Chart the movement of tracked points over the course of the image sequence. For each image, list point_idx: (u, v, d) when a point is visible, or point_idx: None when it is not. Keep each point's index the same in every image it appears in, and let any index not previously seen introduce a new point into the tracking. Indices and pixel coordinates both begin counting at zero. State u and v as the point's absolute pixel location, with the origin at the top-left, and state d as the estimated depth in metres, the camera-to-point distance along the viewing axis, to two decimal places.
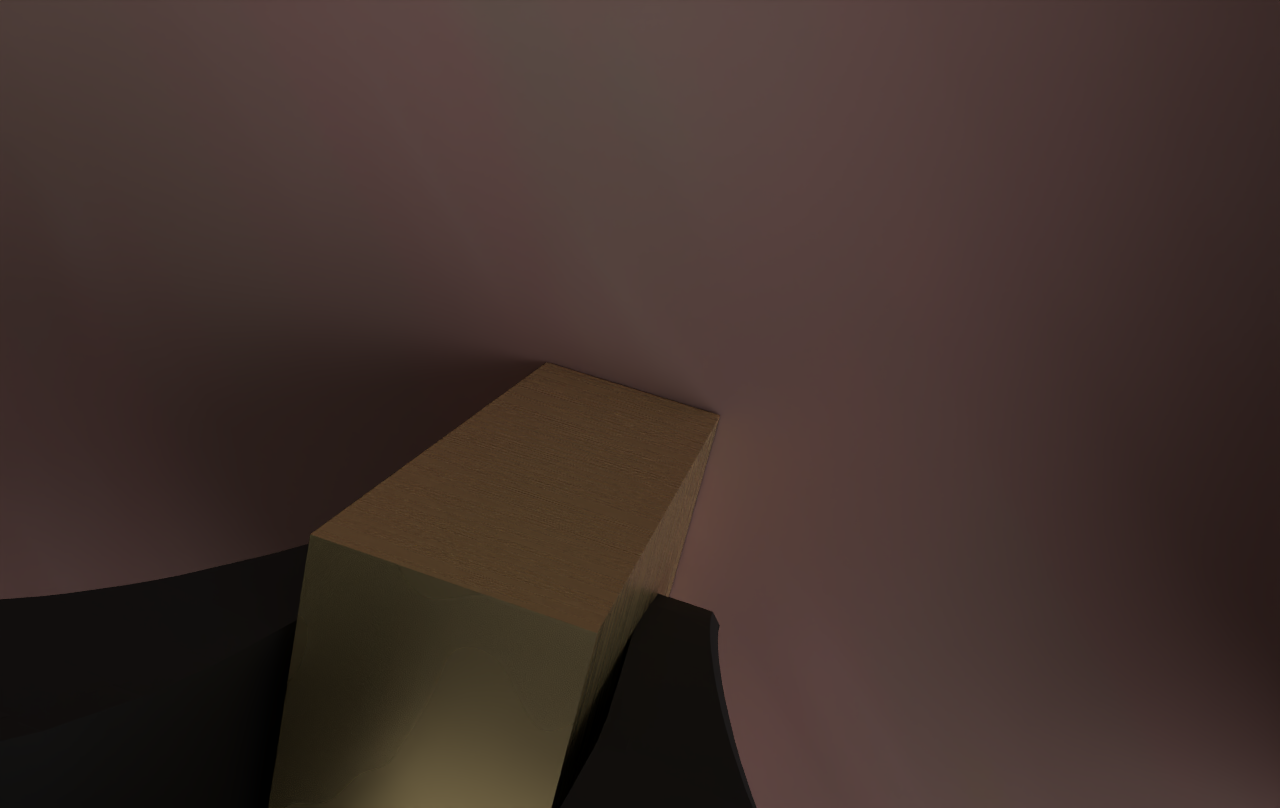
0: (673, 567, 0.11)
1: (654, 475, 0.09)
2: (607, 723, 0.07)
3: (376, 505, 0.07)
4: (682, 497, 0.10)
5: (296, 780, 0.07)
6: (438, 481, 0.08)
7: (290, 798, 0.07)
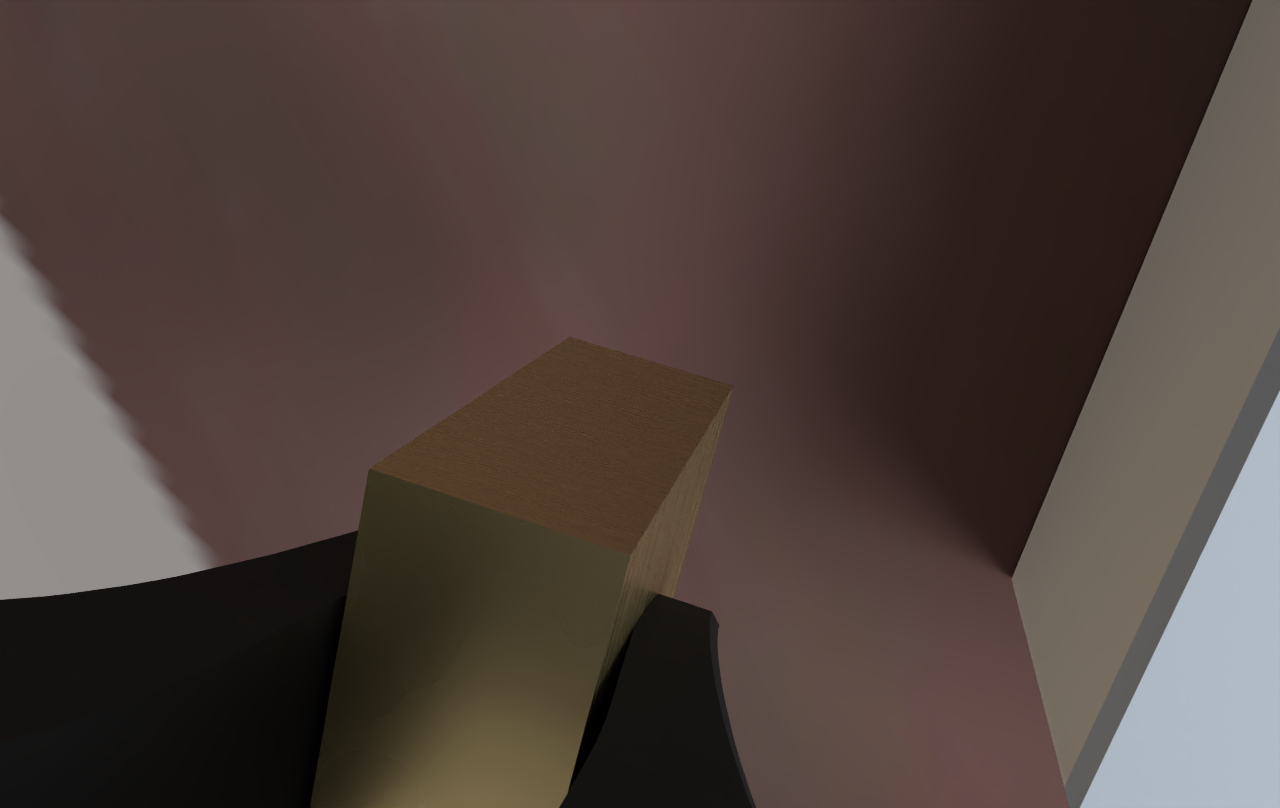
0: (689, 529, 0.12)
1: (674, 432, 0.10)
2: (607, 722, 0.07)
3: (425, 447, 0.08)
4: (700, 456, 0.10)
5: (352, 700, 0.08)
6: (479, 430, 0.09)
7: (345, 717, 0.08)
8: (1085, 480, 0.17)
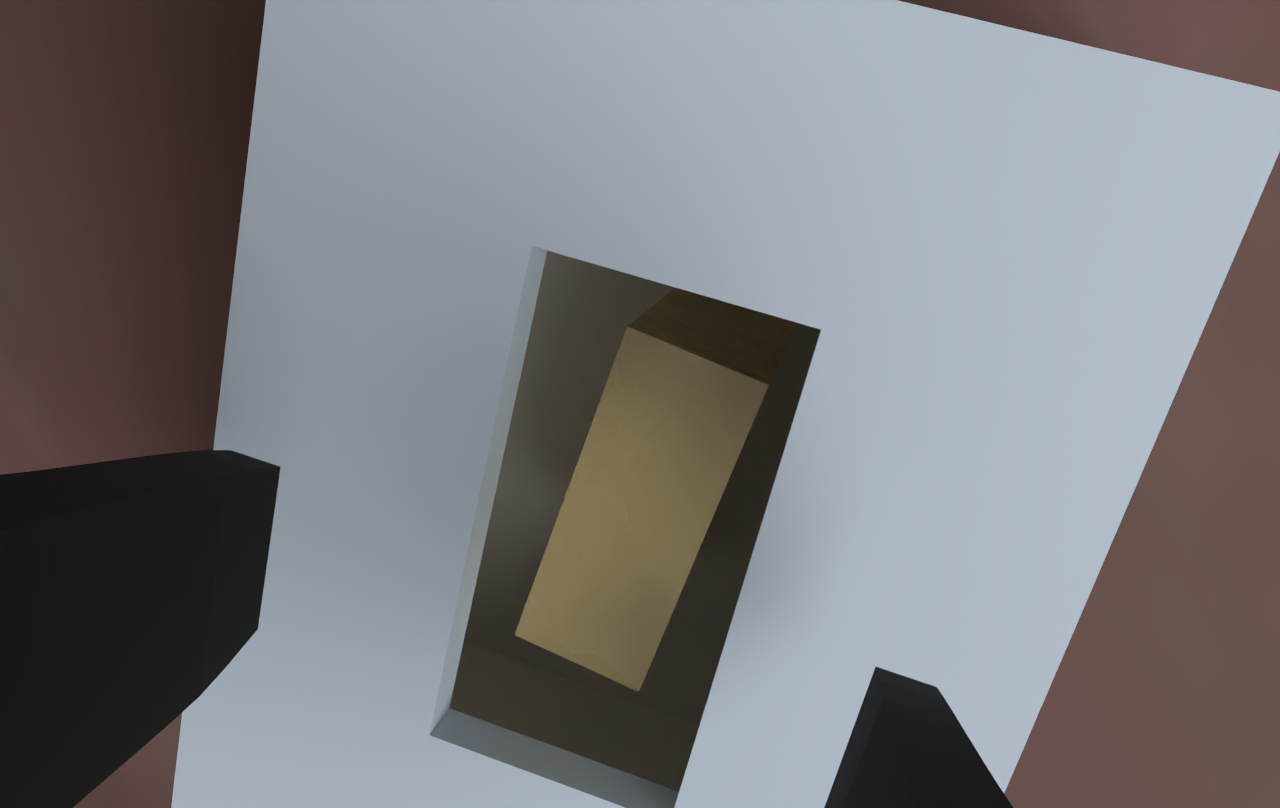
0: None
1: (774, 334, 0.16)
2: None
3: (648, 321, 0.14)
4: None
5: (593, 459, 0.14)
6: (670, 317, 0.15)
7: (587, 468, 0.14)
8: None
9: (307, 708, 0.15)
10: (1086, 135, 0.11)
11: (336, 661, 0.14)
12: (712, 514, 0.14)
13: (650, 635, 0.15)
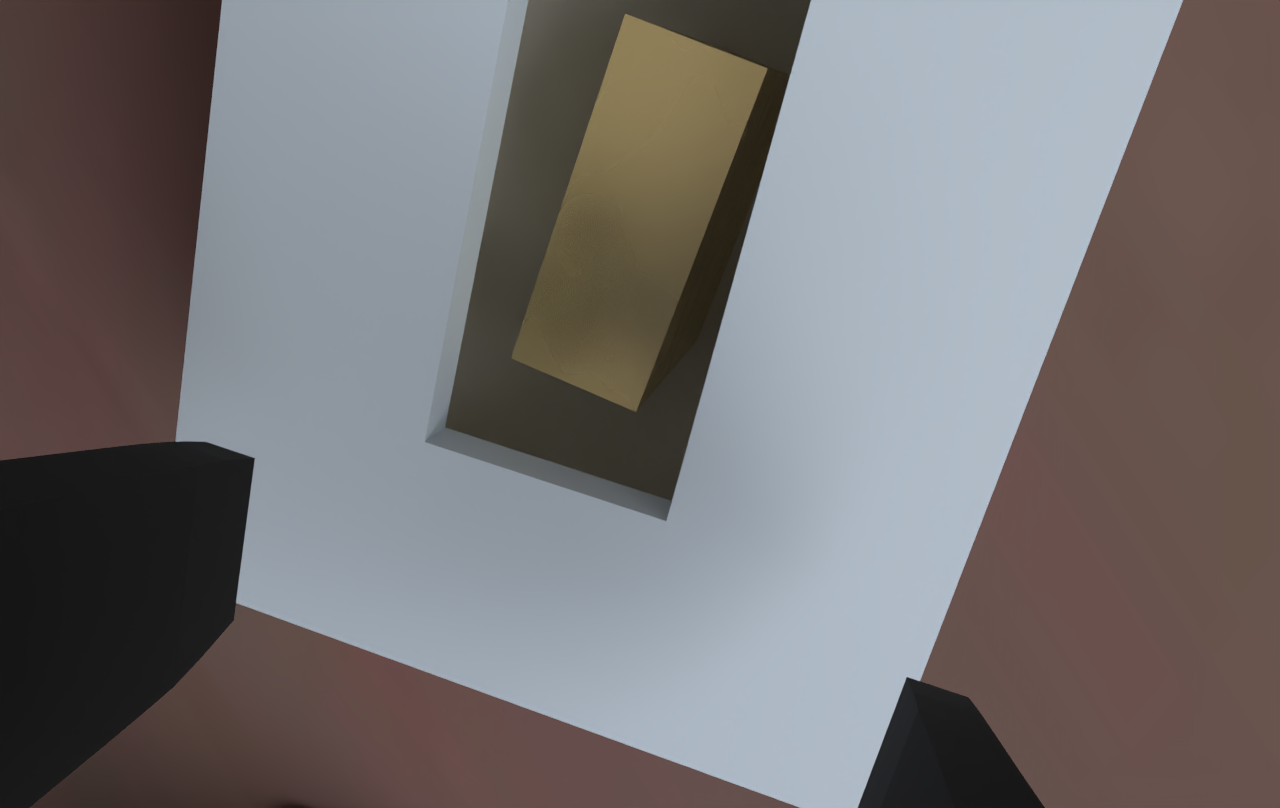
0: (761, 171, 0.18)
1: (773, 68, 0.16)
2: None
3: (646, 21, 0.14)
4: (783, 95, 0.17)
5: (590, 160, 0.14)
6: (668, 29, 0.15)
7: (584, 172, 0.14)
8: None
9: (302, 421, 0.15)
10: None
11: (331, 368, 0.14)
12: (710, 212, 0.14)
13: (647, 349, 0.15)
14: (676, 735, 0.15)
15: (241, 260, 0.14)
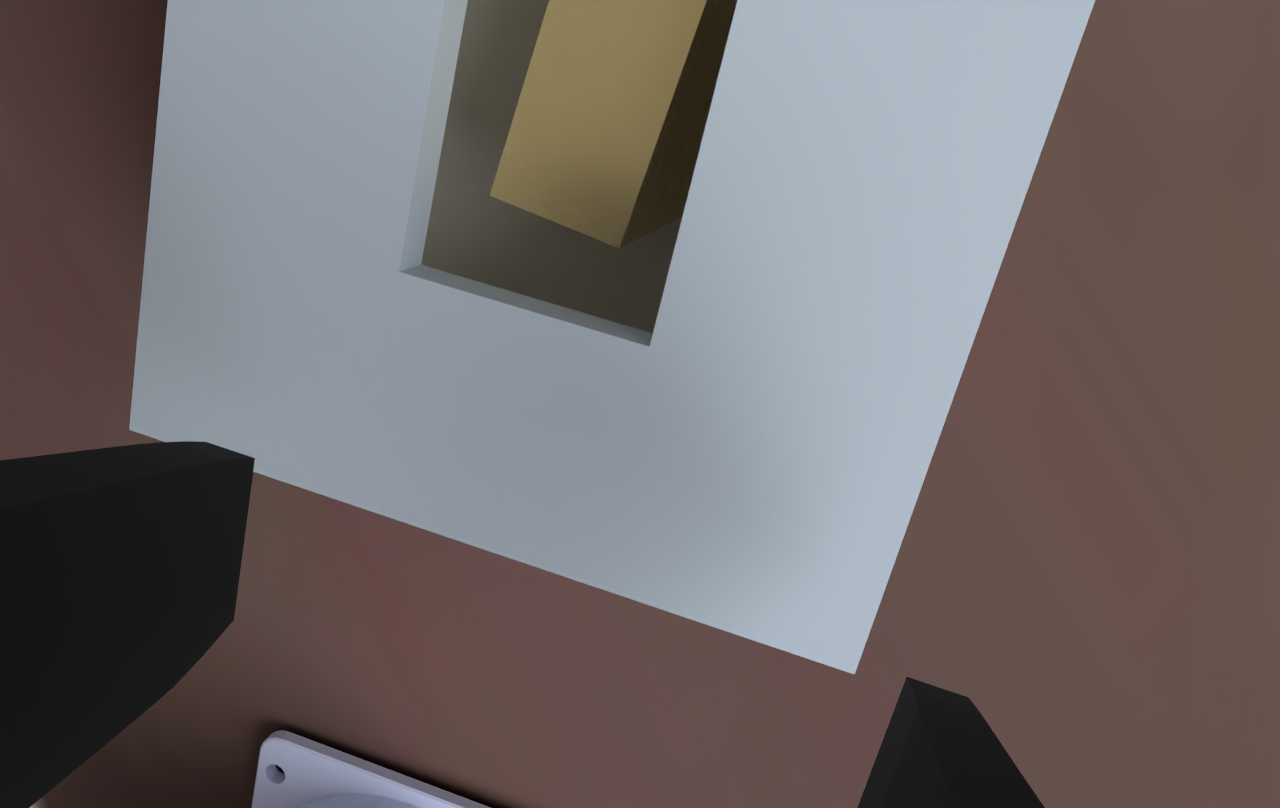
0: None
1: None
2: None
3: None
4: None
5: None
6: None
7: None
8: None
9: (272, 255, 0.14)
10: None
11: (301, 195, 0.14)
12: (694, 28, 0.13)
13: (630, 180, 0.14)
14: (661, 579, 0.14)
15: (207, 82, 0.14)
